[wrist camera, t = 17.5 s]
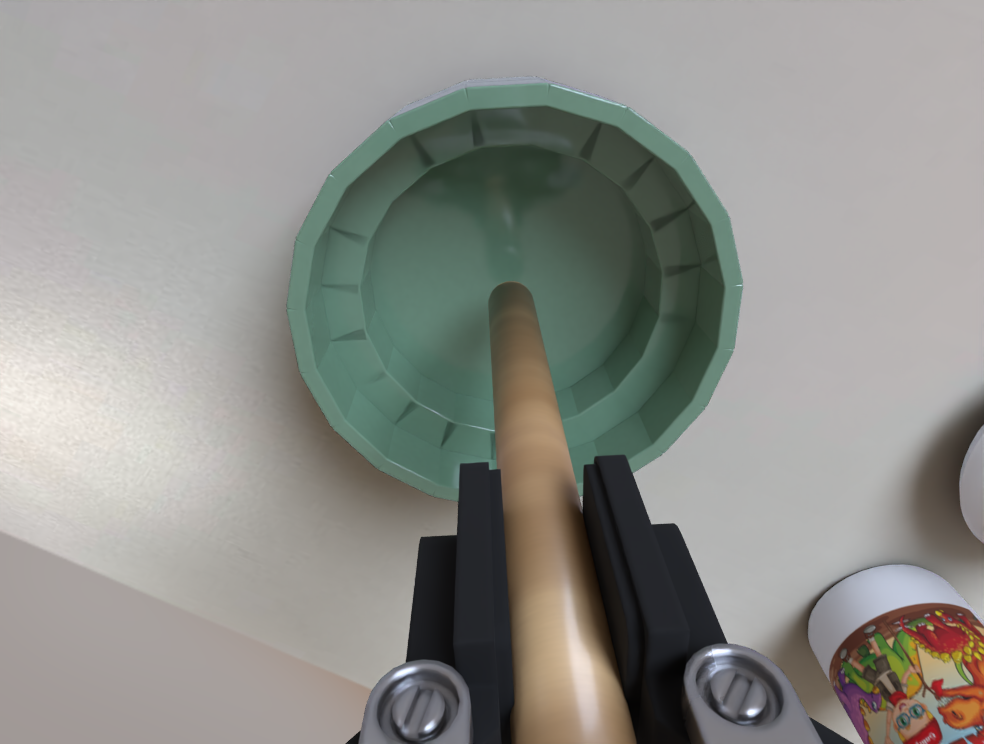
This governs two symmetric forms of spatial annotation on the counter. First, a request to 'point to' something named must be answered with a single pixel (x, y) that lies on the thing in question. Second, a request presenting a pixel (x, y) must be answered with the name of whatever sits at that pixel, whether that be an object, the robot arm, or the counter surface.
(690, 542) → the counter surface
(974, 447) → the flower in vase
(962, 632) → the milk bottle
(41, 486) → the counter surface
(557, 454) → the cooking stick
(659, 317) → the bowl
